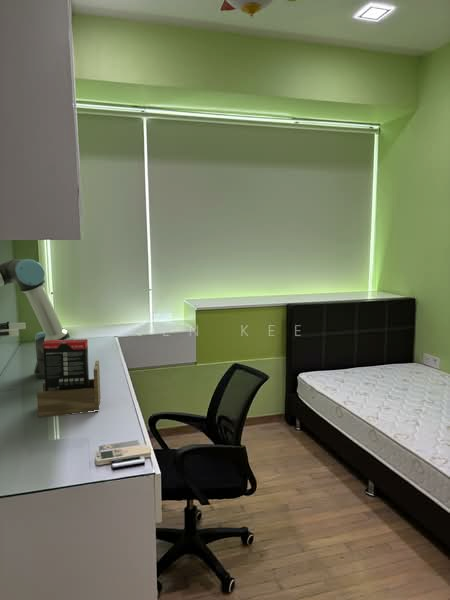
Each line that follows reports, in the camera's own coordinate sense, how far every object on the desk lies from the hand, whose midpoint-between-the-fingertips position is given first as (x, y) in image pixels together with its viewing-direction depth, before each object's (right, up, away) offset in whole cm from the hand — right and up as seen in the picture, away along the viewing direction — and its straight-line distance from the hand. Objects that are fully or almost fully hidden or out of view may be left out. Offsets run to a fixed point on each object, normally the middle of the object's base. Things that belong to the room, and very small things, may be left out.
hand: (22, 328), depth 181 cm
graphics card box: (+20, -32, +1) cm, 37 cm away
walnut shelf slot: (+20, -34, 0) cm, 39 cm away
